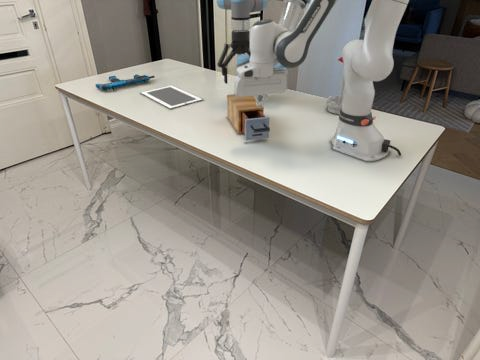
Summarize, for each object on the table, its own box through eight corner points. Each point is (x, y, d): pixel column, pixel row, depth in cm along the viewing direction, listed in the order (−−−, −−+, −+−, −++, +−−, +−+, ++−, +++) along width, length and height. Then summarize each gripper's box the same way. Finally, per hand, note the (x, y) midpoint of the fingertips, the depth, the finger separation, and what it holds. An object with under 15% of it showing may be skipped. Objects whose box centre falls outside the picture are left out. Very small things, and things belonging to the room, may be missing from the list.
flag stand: (341, 103, 177) (352, 43, 161) (357, 112, 167) (370, 48, 150) (320, 107, 173) (328, 45, 157) (335, 116, 163) (345, 51, 146)
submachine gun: (140, 69, 224) (158, 75, 207) (141, 74, 225) (159, 81, 209) (88, 79, 205) (103, 86, 188) (89, 85, 207) (105, 93, 190)
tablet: (140, 93, 192) (140, 92, 192) (171, 85, 203) (171, 85, 203) (170, 109, 171) (170, 108, 171) (202, 99, 183) (202, 99, 182)
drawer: (273, 143, 137) (274, 123, 132) (249, 146, 135) (250, 125, 130) (254, 120, 157) (255, 102, 152) (234, 123, 154) (234, 104, 149)
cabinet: (262, 131, 150) (263, 107, 144) (238, 134, 147) (238, 110, 141) (249, 114, 166) (249, 92, 160) (227, 117, 163) (227, 94, 157)
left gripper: (265, 27, 146) (264, 76, 157) (209, 30, 140) (211, 81, 152) (272, 30, 140) (269, 81, 151) (212, 33, 134) (215, 86, 146)
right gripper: (284, 64, 128) (282, 100, 135) (232, 68, 123) (232, 105, 130) (291, 69, 123) (288, 105, 130) (237, 73, 118) (237, 111, 125)
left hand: (240, 81), depth 152 cm, fingers open, 13 cm apart
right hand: (260, 105), depth 130 cm, fingers closed
